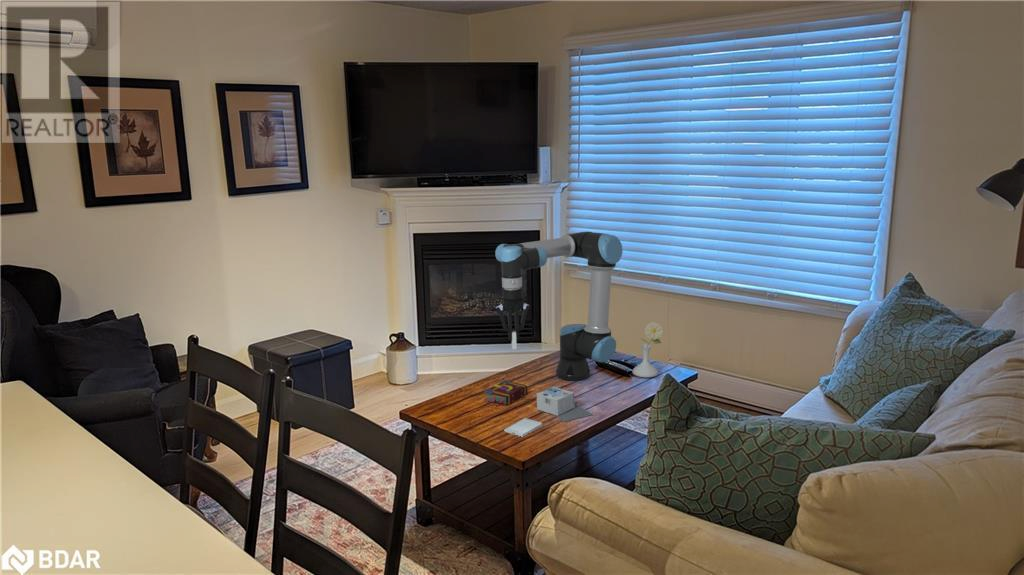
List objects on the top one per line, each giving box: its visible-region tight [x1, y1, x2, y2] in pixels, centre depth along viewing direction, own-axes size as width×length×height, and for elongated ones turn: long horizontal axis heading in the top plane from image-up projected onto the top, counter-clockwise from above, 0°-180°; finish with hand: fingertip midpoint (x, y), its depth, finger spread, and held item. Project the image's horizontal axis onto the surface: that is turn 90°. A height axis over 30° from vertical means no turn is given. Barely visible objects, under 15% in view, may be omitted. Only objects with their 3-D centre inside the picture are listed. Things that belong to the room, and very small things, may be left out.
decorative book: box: [484, 380, 528, 406], centre depth 282 cm, size 11×16×5 cm
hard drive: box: [503, 417, 543, 438], centre depth 253 cm, size 2×8×12 cm
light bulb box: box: [536, 386, 575, 416], centre depth 269 cm, size 11×7×11 cm
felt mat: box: [552, 403, 594, 423], centre depth 268 cm, size 13×16×1 cm
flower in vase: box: [631, 321, 664, 379], centre depth 304 cm, size 13×11×25 cm
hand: (514, 348), depth 263 cm, fingers closed
